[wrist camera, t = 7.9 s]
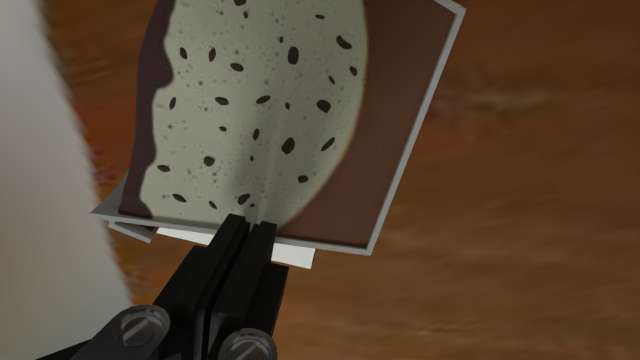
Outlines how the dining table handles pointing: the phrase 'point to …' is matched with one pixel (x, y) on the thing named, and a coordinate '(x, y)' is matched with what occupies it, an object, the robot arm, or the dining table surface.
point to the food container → (280, 115)
